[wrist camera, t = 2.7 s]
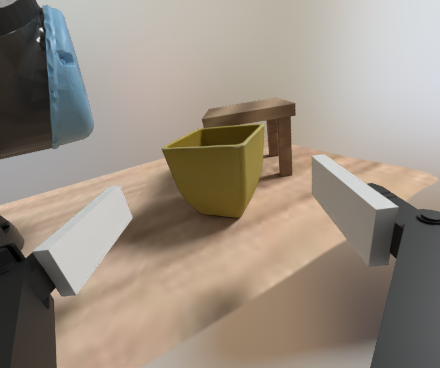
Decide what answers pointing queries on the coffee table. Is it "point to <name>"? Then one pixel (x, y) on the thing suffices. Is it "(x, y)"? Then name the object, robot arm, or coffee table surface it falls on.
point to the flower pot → (218, 167)
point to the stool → (260, 111)
